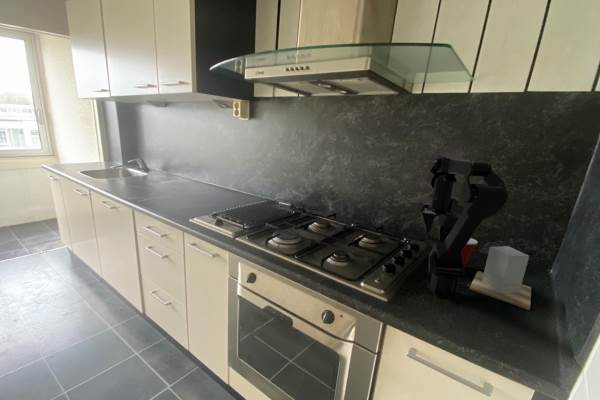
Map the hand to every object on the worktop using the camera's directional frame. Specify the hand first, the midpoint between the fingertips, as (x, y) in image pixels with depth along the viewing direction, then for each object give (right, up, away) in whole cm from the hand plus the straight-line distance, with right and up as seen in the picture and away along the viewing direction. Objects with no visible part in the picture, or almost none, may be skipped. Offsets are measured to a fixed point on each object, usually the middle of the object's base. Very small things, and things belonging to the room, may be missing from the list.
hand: (434, 237), depth 94 cm
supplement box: (+18, -15, -6) cm, 25 cm away
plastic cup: (+11, -12, +8) cm, 18 cm away
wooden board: (+18, -16, -6) cm, 25 cm away
